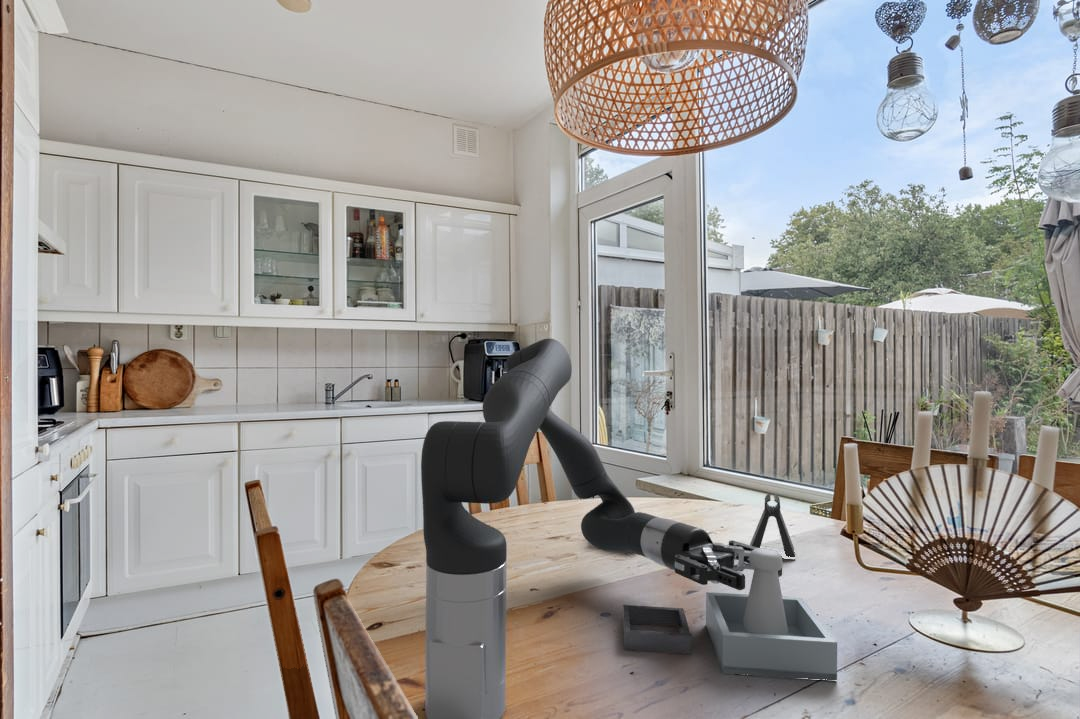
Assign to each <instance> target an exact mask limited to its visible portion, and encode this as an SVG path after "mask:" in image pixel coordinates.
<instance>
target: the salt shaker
mask: <svg viewBox="0 0 1080 719" xmlns="http://www.w3.org/2000/svg"><path fill="white" fill-rule="evenodd" d="M749 559H750V563H749V564H751V566H752V567H753V568H754V570H753V574H752V579H751V584H750V588H749V592H748V595H749V596H748V601H747V605H746V610H745V614H744V619H743V625H744V629H745V632H746V633H752V634H768V635H784V636H786V635H787V631H788V629H787V623H786V617H785V611H784V605H783V599H782V595H783V594H782V589H781V582H780V577H779V576H778V571H779V570H781V568H782V569H783V564H784V563H783V559H782V556H781V555H780V554H779V553H778V552H777V551H775V550H772V549H767V548H756V549H754V550H752V551H751V552H750V556H749Z"/></svg>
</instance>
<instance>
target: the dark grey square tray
mask: <svg viewBox="0 0 1080 719" xmlns="http://www.w3.org/2000/svg"><path fill="white" fill-rule="evenodd" d="M622 610H623V615H622V616H623V617H622V619H623V622H622V623H623V646H624V648H623V649H624V651H632V650H633V652H634V651H635V652H647V651H650V653H661V652H668V653H667V654H676V653H679V654H678V655H690V654H691V655H692V635H691V630H690V627H689V623H688V621H687V616H686V613H685V610H684V608H683V607H669V606H668V607H667V606H665V607H664V606H650V605H649V606H648V605H635V604H633V605H632V604H623V609H622ZM631 625H646V626H660V627H661V626H663V627H675V626H679V627H678V630H679V631H678V632H672V631H670V632H669V631H654V630H653V631H652V630H642V629H641V630H638V629H631ZM680 653H682V654H680Z"/></svg>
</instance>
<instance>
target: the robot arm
mask: <svg viewBox="0 0 1080 719" xmlns="http://www.w3.org/2000/svg"><path fill="white" fill-rule="evenodd" d="M505 363H506V372H505V373H503V374H502V375H500V377H499V378H498V379H497V380H496V381H495V382H494V383H493V384H492V385H491V386H490V388H489V389H488V391H487V392H486V394H485V396H484V398H483V402H482V415H483V419H484V421H459V420H458V421H454V420H453V421H452V420H450V421H449V420H448V421H447V420H446V421H445V420H443V421H438V422H436V423H434V424H432V425H431V426H430V428H428V430H427V432H426V434H425V436H424V440H423V444H422V448H421V459H420V475H421V476H420V478H421V495H422V497H421V498H422V499H421V500H422V516H423V517H422V518H423V520H422V521H423V522H422V523H423V525H422V526H423V528H422V529H423V541H424V547H425V551H426V552H425V553H426V555H425V557H426V558H425V559H426V560H425V562H426V566H425V567H426V569H425V570H426V571H425V572H426V576H425V579H426V580H425V583H426V584H425V585H426V586H425V665H424V666H425V667H424V668H425V669H424V670H425V671H424V672H425V678H424V679H425V681H424V682H425V685H424V686H425V687H424V688H425V689H424V690H425V691H424V692H425V695H424V696H425V697H424V698H425V699H424V700H425V702H424V704H425V709H424V710H425V711H424V712H425V713H424V714H425V717H426V719H501V718H502V717H503V715H504V714H505V711H506V700H507V699H506V695H507V694H506V693H507V692H506V689H507V688H506V686H507V684H506V683H507V682H506V681H507V671H506V669H507V668H506V666H507V663H506V662H507V661H506V660H507V658H506V657H507V654H506V653H507V558H508V557H507V552H508V551H507V549H508V546H507V540H506V537H505V535H504V533H502V532H501V531H500V530H498V528H495V527H493V526H492V525H489V524H487V523H485V522H483V521H481V520H479V519H478V518H477V517H475V516H473V515H472V514H471V513H470V512H469V511H468V510H467V509H466V508H465V506H464V505H463V503H468V504H469V503H470V504H483V505H484V504H486V505H487V504H488V505H490V504H498V503H503V502H504V501H507V499H509V497H510V496H511V495H512V494H513V492H514V490H515V489H516V487H517V485H518V482H519V479H520V476H521V473H522V471H523V467H524V464H525V462H526V458H527V455H528V453H529V450H530V447H531V444H532V442H533V440H534V438H535V435H536V434H537V432H538V430H540V432H541V433H542V435H543V436H544V438H545V439H546V441H547V443H548V444H549V446H550V447H551V450H553V452H554V453H555V456H556V457H557V460H558V462H559V463H560V466H561V467H562V470H563V472H564V474H565V476H566V478H567V481H568V482H569V484H570V487H571V489H572V490H573V493H574V495H575V496H576V497H577V498H579V499H581V500H587V499H591V498H594V497H596V496H598V497H599V498H600V499H601V501H602V502H600V503H599V504H598V505H596V506H595V507H594V508H593V509H591V510H590V511H588V512H587V513H586V514H585V515H584V516H583V517H582V519H581V523H580V530H581V534H582V535H583V537H584V539H585V540H586V541H587V542H588V543H589V544H590V546H593V547H595V548H596V549H598V550H601V551H607V552H619V553H620V552H621V553H634V554H637V555H639V556H642V557H643V558H647V559H649V560H650V561H653V562H654V563H656V564H658V565H660V566H663V567H664V568H668V569H669V570H673V571H674V573H675V574H677V575H679V576H681V577H683V578H686V579H688V580H690V581H693V582H695V583H697V584H699V585H702V586H705V585H706V586H707V585H708V582H711V583H712V584H714V585H715V584H723V585H725V586H727V587H730V588H733V589H735V590H737V591H742V590H745V588H746V575H745V574H744V573H743V572H744V570H753V571H754V568H753V567H752V566H751V564H750V559H749V556H750V552H751V551H752V550H754V549H756V548H757V547H754V546H750V544H745V543H743V542H741V541H735V540H728V545H727V544H724V543H723V542H713V540H712V538H711V537H710V535H709V534H708V532H707V531H705V530H704V529H703V528H699V527H697V526H693V525H691V524H687V523H685V522H684V523H683V522H681V521H677V520H674V519H670V518H663V517H659V516H656V515H652V514H649V513H647V512H642V511H638V512H637V511H635V508H634V506H633V504H632V503H631V502H630V500H629V499H628V498H627V497H626V495H625V494H623V493H622V492H621V490H620V489H619V488H618V486H617V485H616V484H615V483H614V481H613V480H612V479H611V478H610V476H609V475H608V472H607V471H606V469H605V466H604V464H603V463H602V460H601V459H600V455H599V454H598V452H597V449H596V448H595V447H594V445H593V444H592V442H591V441H590V440H589V438H588V437H586V436H585V435H584V434H582V433H581V432H579V430H577V429H575V428H574V427H573V426H572V425H570V424H569V423H567V422H566V421H564V420H563V419H562V418H560V417H559V416H558V415H556V414H555V412H553V411H552V410H551V408H550V407H551V406H552V404H553V402H554V401H555V399H556V397H557V395H558V394H559V392H560V391H561V390H562V389H563V387H565V386H566V385H567V384H568V383H569V382H570V380H571V378H572V377H571V376H572V373H573V370H572V360H571V357H570V354H569V353H568V351H567V349H566V347H565V346H564V345H563V344H562V343H561V342H560V341H559V340H556V339H554V338H550V337H549V338H544V339H541V340H537V342H534V343H532V344H529V345H528V346H525V347H523V348H521V349H519V350H517V351H514V352H513V353H512V354H511V353H510V354H509V356H508V357H507V359H506V362H505ZM735 561H737V562H738V563H737V564H735ZM778 576H779V578H780V577H783V567H782V568H781V570H779V571H778Z"/></svg>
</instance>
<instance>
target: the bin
mask: <svg viewBox="0 0 1080 719" xmlns="http://www.w3.org/2000/svg"><path fill="white" fill-rule="evenodd" d="M748 596H749V593H748V594H746V593H744V594H743V593H728V592H727V593H726V592H712V591H711V592H709V591H707V592H705V626H706V629H707V632H708V635H709V637H710V641H711V643H712V646H713V649H714V652H716V653H715V655H716V659H717V661H718V664H719V667H720V669H721V672H722V674H723V675H734V674H745V675H744V676H747V674H748V675H753V676H752V677H761V676H762V677H764V678H776V679H777V678H779V679H789V678H808V679H825V680H826V679H827V680H837V681H838V642H837V640H836V639H835V638H834V636H833V635H832V634H831V633H830V631H829V630H828V629H827V628H826V626H825V625H824V624H823V623H822V621H821V620H820V619H819V617H818V616H817V615H816V614H815V612H814V611H813V610H812V608H811V607H810V606H809V604H808V603H807V602H806V601H805V599H804V598H803V597H801V596H799V597H797V596H782V599H783V605H784V611H785V617H786V623H787V629H788V631H787V635H786V636H784V635H768V634H752V633H746V632H745V629H744V625H743V619H744V614H745V610H746V605H747V601H748Z"/></svg>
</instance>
